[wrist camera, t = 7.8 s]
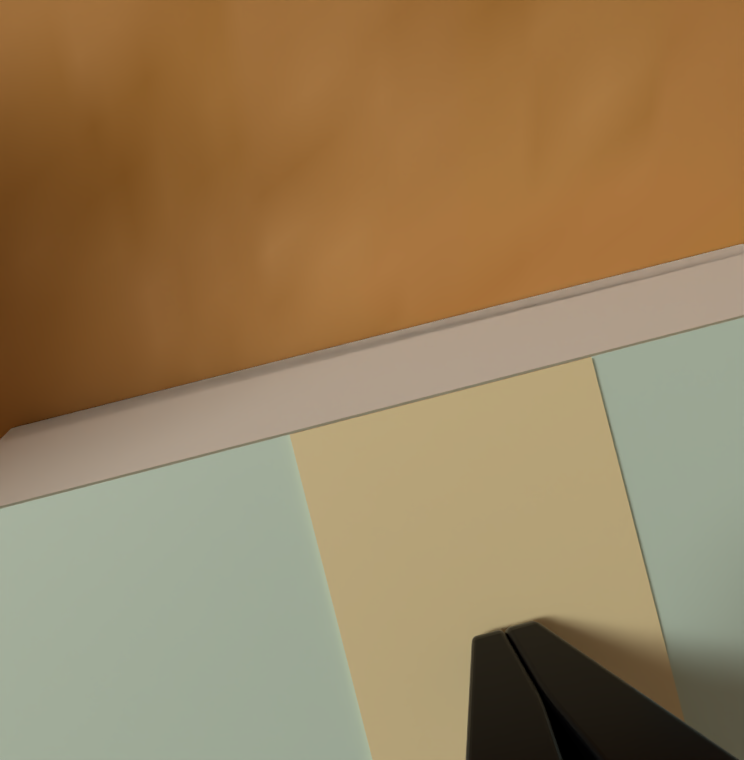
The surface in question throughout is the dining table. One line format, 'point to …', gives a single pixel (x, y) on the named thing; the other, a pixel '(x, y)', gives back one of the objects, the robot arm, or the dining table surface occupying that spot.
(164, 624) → the lid
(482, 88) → the dining table surface
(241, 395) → the box
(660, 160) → the dining table surface
